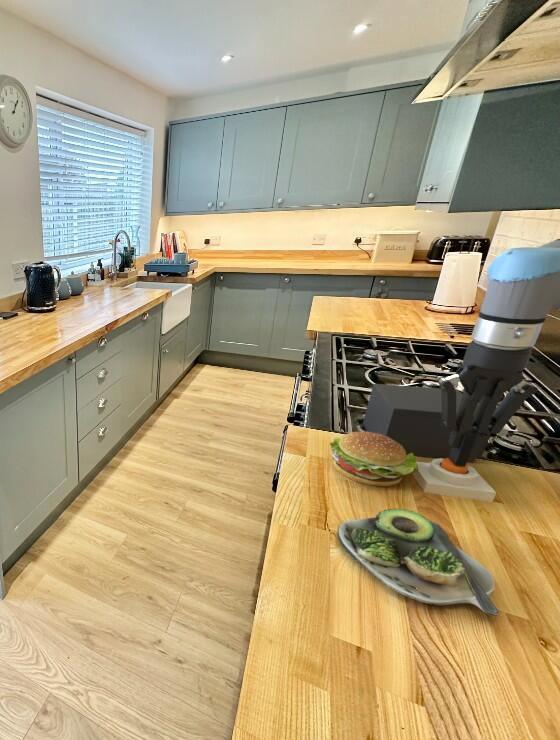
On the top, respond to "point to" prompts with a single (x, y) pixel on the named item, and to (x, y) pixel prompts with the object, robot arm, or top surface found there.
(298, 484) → the top surface
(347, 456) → the food
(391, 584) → the salad plate
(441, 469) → the block
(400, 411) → the dark grey box
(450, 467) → the button
